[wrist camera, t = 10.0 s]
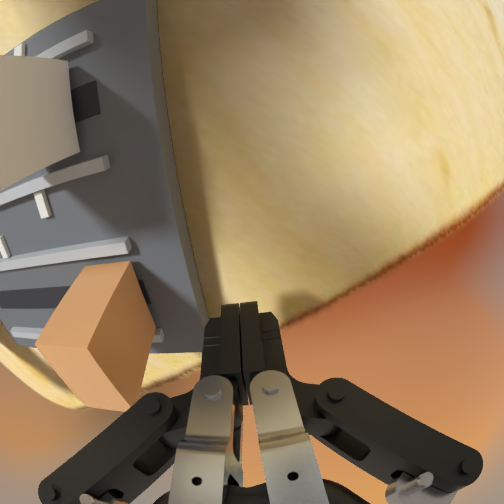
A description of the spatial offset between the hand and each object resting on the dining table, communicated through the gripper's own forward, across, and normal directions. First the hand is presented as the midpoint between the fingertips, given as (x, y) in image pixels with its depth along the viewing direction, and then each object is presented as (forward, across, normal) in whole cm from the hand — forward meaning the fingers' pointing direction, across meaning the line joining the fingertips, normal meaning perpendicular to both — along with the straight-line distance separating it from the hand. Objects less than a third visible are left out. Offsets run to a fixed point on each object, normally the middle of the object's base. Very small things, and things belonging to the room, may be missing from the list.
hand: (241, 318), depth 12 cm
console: (+4, +11, -5) cm, 13 cm away
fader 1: (+2, +7, -10) cm, 13 cm away
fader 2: (+2, +6, 0) cm, 7 cm away
